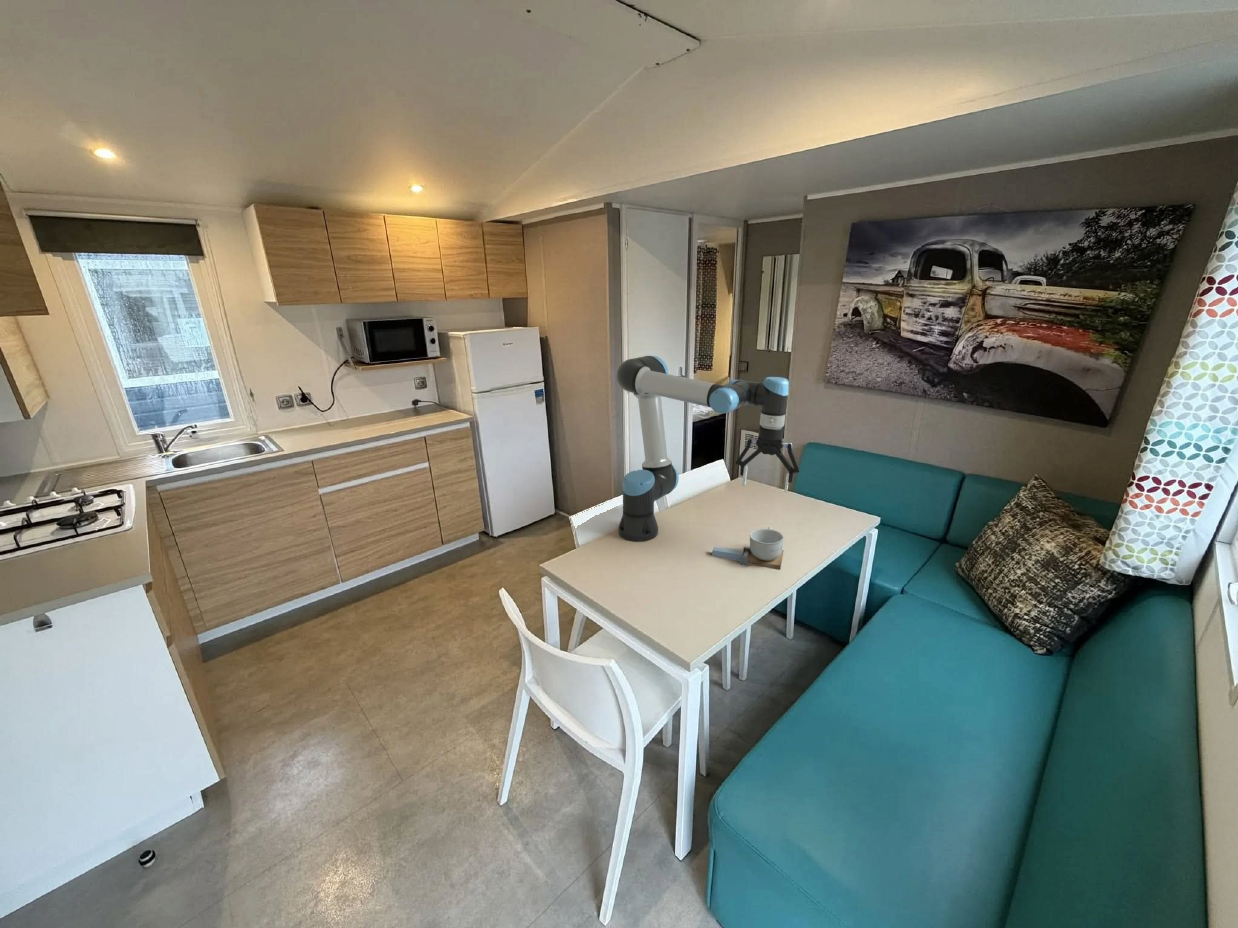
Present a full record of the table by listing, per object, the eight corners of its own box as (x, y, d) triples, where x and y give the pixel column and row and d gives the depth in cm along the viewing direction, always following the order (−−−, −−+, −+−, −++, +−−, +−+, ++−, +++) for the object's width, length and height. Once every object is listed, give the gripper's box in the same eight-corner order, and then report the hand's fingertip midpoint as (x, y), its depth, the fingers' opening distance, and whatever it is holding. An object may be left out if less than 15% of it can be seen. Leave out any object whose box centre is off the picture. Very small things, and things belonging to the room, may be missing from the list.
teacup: (774, 567, 156) (776, 545, 153) (742, 557, 162) (744, 536, 160) (789, 550, 166) (791, 529, 164) (758, 541, 173) (760, 521, 170)
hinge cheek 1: (743, 555, 166) (743, 547, 165) (743, 554, 167) (744, 546, 166) (750, 556, 166) (750, 549, 165) (750, 555, 166) (751, 547, 165)
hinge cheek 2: (740, 564, 161) (740, 556, 160) (740, 563, 162) (741, 555, 161) (747, 565, 160) (748, 557, 159) (747, 564, 161) (748, 556, 160)
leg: (748, 557, 165) (749, 550, 165) (746, 563, 161) (747, 556, 161) (714, 552, 170) (714, 545, 169) (711, 558, 166) (711, 551, 165)
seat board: (746, 563, 162) (746, 559, 161) (750, 548, 171) (751, 544, 171) (780, 569, 158) (780, 565, 157) (783, 553, 167) (783, 550, 167)
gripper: (730, 424, 156) (725, 485, 163) (812, 433, 146) (803, 497, 154) (734, 419, 162) (729, 478, 169) (813, 427, 153) (804, 489, 160)
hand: (764, 487), depth 162 cm, fingers open, 13 cm apart
